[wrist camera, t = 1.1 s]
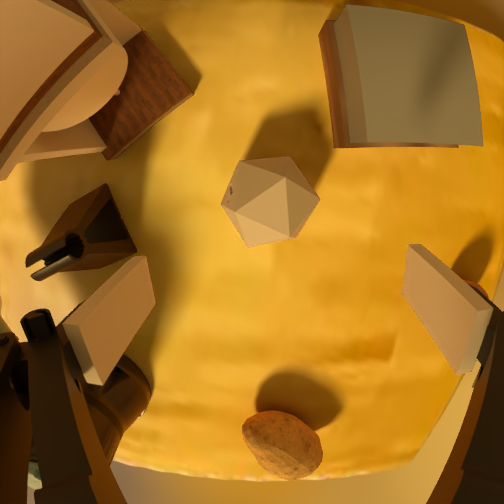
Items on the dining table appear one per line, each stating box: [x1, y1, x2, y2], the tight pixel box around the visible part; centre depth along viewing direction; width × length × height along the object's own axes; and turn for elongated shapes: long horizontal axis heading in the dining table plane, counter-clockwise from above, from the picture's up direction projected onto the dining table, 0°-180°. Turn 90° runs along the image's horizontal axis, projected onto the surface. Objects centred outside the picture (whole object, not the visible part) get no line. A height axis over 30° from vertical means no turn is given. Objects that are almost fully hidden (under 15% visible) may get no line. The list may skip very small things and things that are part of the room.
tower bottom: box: [318, 20, 458, 148], centre depth 26 cm, size 13×13×5 cm
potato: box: [242, 410, 323, 480], centre depth 40 cm, size 10×14×10 cm
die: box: [221, 156, 320, 247], centre depth 29 cm, size 8×9×10 cm
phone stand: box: [26, 184, 137, 281], centre depth 29 cm, size 9×6×12 cm, turn 21°
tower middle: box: [334, 4, 483, 146], centre depth 22 cm, size 12×12×5 cm
